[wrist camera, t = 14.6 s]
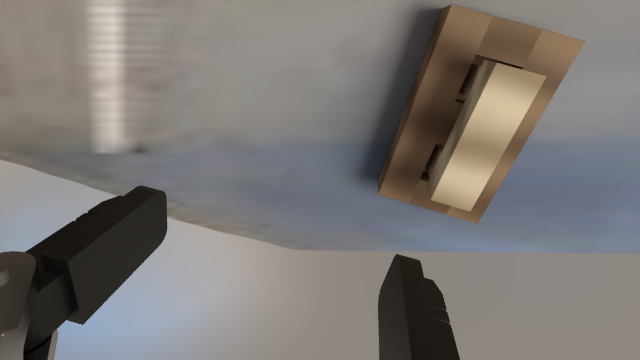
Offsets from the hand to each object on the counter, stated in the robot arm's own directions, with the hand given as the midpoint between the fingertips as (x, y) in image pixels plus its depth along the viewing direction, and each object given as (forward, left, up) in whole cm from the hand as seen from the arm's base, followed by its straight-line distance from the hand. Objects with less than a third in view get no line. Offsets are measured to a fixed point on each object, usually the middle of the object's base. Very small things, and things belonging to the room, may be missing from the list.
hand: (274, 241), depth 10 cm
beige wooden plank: (-1, +13, -27) cm, 30 cm away
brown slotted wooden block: (-1, +13, -28) cm, 31 cm away
